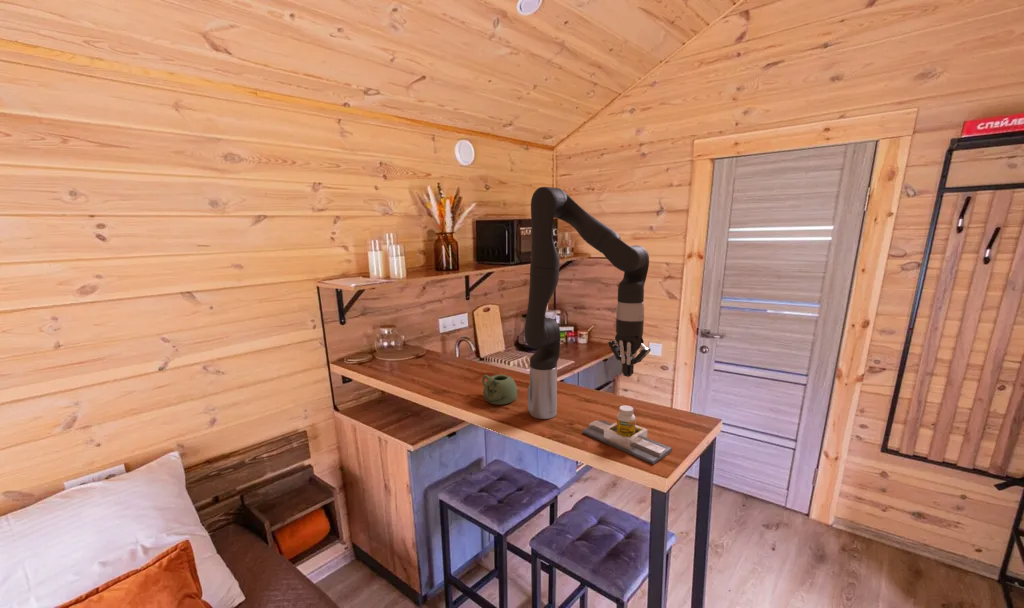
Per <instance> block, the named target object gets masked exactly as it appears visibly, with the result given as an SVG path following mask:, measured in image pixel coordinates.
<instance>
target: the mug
mask: <svg viewBox="0 0 1024 608" xmlns="http://www.w3.org/2000/svg"><path fill="white" fill-rule="evenodd" d="M485 380H486V381H485ZM482 386H483V392H482V393H483V398H484V400H485V401H486V402H488V403H489V404H492V405H496V406H498V405H500V406H501V405H507V404H511V403H513V402H514V401H515V400H516V399H517V397H518V386H517V383H516V382H515V380H514V379H513V378H512V376H510V375H508V374H507V375H506V374H495V375H491V376H489V375H487V374H484V375H483V376H482Z"/></svg>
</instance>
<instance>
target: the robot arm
mask: <svg viewBox="0 0 1024 608" xmlns="http://www.w3.org/2000/svg"><path fill="white" fill-rule="evenodd" d="M530 199H531V201H530V217H531V219H530V220H531V224H530V225H531V249H530V250H531V252H530V266H529V267H530V268H529V289H528V291H529V292H528V300H527V301H528V304H527V311H526V317H525V323H524V330H523V331H524V333H523V334H524V339H525V342H526V344H527V346H528V347H529V348H530V349H533V350H536V351H535V352H534V353H533V354H532V355H531V356H530V358H529V385H527V412H528V413H529V414H530V416H531V417H533V418H535V419H540V420H549V419H552V418H555V417H556V416H557V413H558V412H557V411H558V407H557V405H558V397H557V396H558V361H559V358H560V352H561V328H560V326H559V323H558V321H557V320H555V319H554V318H552V317H547V318H546V312H547V307H548V305H549V302H550V300H551V299H552V296H553V295H554V293H555V290H556V289H557V286H558V283H559V279H560V278H559V276H560V265H561V263H560V256H559V253H558V251H557V247H556V245H555V242H554V239H553V222H554V221H553V220H554V219H558V220H561V221H563V222H565V223H567V224H568V225H569V226H571V227H572V228H573V229H574V230H575V231H576V232H577V233H578V235H579V236H580V237H581V239H582V240H584V241H585V242H586V243H587V244H588V245H589V246H591V247H592V248H594V250H596V251H598V252H599V253H601V254H602V255H603V256H604V257H605V258H606V259H607V260H608V261H609V262H610V263H611V264H612V266H614V268H616V269H617V270H619V271H622V272H624V273H623V277H622V280H621V281H619V283H618V287H617V304H616V311H615V312H616V313H615V314H616V315H615V333H616V335H615V337H614V339H612V340H609V341H608V343H607V344H608V346H609V348H610V350H611V351H612V353H613V355H614V356H615V359H616V360H617V361H620V362H621V363H622V364H621V366H622V370H621V372H622V375H623V376H624V377H627V378H629V377H632V375H633V374H634V369H635V368H634V367H635V366H634V365H636V364H638V363H641V362H642V360H644V358H645V357H647V355H648V354H649V353H650V352H651V348H650V347H647V346H646V345H645V344H644V343H645V342H644V338H643V335H644V326H645V325H644V321H645V306H644V305H645V304H644V303H645V302H644V300H645V299H644V296H645V283H646V280H647V275H648V271H649V267H650V255H649V253H648V251H647V249H646V248H645V247H643V246H642V245H638V244H637V245H629V244H627V243H626V242H625V241H623V240H622V239H621V236H620V234H619V233H618V232H617V231H615V230H613V229H612V228H611V227H609V226H607V225H606V224H604V223H603V222H601V221H599V219H597V218H595V217H594V216H592V215H591V213H588V212H587V210H585V209H584V208H582V207H581V206H580V205H579V204H578V203H577V202H575V200H573V198H572V197H571V196H570V195H569V194H568V193H566V192H565V191H564V190H563V189H562V188H559V187H551V186H549V187H548V186H541V187H538V188H536V189H535V191H534V192H533V194H532V196H531V198H530ZM638 351H639V353H638Z"/></svg>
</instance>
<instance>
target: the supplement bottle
mask: <svg viewBox="0 0 1024 608" xmlns="http://www.w3.org/2000/svg"><path fill="white" fill-rule="evenodd" d="M618 411H619V412H618V413H617V414H616V422H617V433H620V434H622V435H624V436H627V437H631V436H633V435H634V434H635V425H636V423H637V422H636V416H635V414H634V407H632V406H630V405H621V406H619V410H618Z"/></svg>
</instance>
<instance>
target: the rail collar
mask: <svg viewBox="0 0 1024 608" xmlns="http://www.w3.org/2000/svg"><path fill="white" fill-rule="evenodd" d="M582 434H584V435H587V436H588V437H591V438H593V439H595V440H598V441H600V442H602V443H605V444H606V445H609V446H611V447H613V448H615V449H618V450H619V451H622V452H625V453H626V454H629V455H631V456H634V457H635V458H637V459H640V460H642V461H644V462H647V463H648V464H651V465H655V464H656V463H658V462H659V461H660V460H662V459H663V458H664V457H666V456H668V454H670V453H671V452H672V450H673V449H672V447H671V446H668V445H666V444H663V443H660V442H658V441H657V440H656V441H655V440H653V439H651V438H648V428H644V427H642V426H640V425H637V424H635V434H634V435H633V436H631V437H627V436H624V435H622V434H620V433H617V421H616V422H614V423H611V422H608V421H606V420H604V419H601V420H597V419H596V420H594V421H592V422H590V423H589V425H588V426H587V427H586V428H584V429H582Z"/></svg>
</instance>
